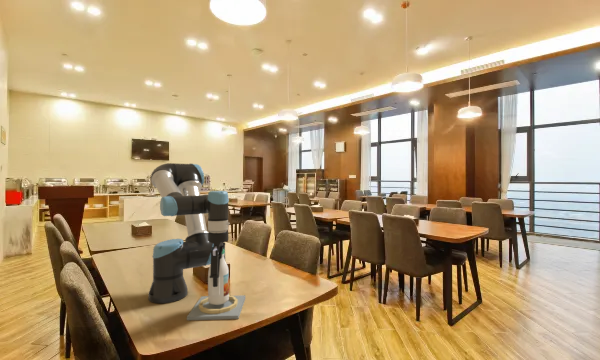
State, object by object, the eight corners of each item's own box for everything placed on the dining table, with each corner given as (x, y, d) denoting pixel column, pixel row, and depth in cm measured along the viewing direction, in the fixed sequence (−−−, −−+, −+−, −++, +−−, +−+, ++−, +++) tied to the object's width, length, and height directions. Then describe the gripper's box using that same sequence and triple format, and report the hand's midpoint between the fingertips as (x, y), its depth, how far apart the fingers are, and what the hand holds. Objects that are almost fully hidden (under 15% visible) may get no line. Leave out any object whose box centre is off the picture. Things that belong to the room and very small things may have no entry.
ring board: (186, 320, 102) (186, 313, 102) (201, 299, 120) (201, 293, 120) (238, 318, 103) (238, 312, 103) (245, 298, 121) (245, 292, 121)
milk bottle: (217, 307, 107) (217, 252, 107) (203, 302, 111) (203, 250, 111) (233, 299, 113) (233, 248, 113) (219, 295, 117) (219, 246, 117)
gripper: (222, 236, 102) (222, 301, 102) (233, 226, 122) (233, 280, 122) (200, 236, 101) (200, 301, 102) (214, 226, 122) (215, 281, 122)
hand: (218, 290), depth 112 cm, fingers closed on milk bottle, 8 cm apart
